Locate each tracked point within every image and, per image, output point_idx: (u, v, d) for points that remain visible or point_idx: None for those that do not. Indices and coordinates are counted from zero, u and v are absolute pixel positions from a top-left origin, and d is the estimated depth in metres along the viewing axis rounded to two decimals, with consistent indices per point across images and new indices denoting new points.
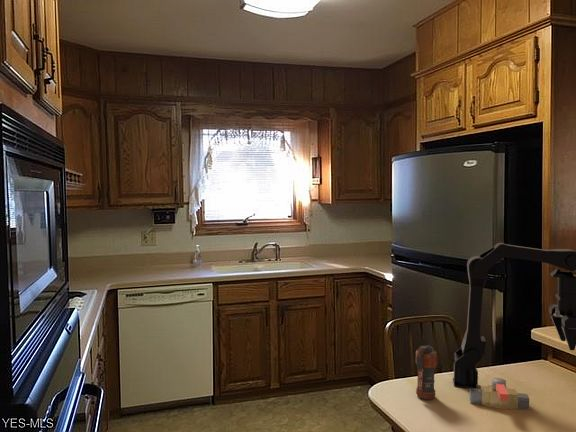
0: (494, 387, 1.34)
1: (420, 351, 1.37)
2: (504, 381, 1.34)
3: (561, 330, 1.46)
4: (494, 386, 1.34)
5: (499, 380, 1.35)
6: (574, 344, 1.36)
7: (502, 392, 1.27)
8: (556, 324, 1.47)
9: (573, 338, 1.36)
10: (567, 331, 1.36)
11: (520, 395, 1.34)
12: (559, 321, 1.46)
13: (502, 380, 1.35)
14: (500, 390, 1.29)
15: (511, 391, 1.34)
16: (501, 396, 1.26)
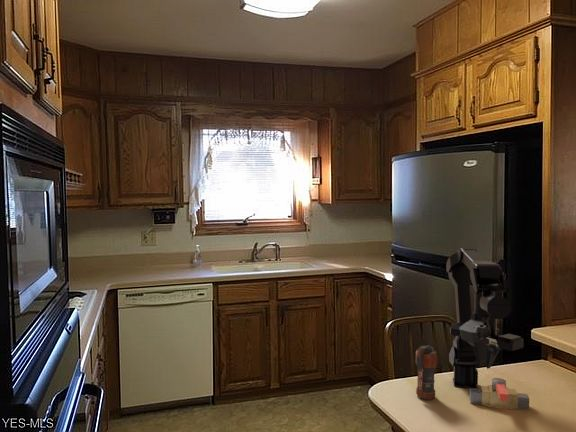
0: (494, 387, 1.34)
1: (420, 351, 1.37)
2: (504, 381, 1.34)
3: None
4: (494, 386, 1.34)
5: (499, 380, 1.35)
6: None
7: (502, 392, 1.27)
8: None
9: None
10: None
11: (520, 395, 1.34)
12: None
13: (502, 380, 1.35)
14: (500, 390, 1.29)
15: (511, 391, 1.34)
16: (501, 396, 1.26)
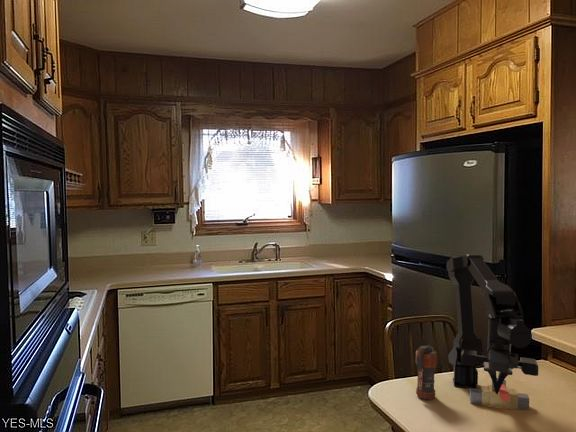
0: None
1: (420, 351, 1.37)
2: (504, 381, 1.34)
3: (497, 381, 1.29)
4: None
5: None
6: None
7: (503, 392, 1.27)
8: None
9: None
10: None
11: (520, 395, 1.34)
12: None
13: None
14: (501, 390, 1.28)
15: (511, 391, 1.34)
16: (503, 396, 1.26)
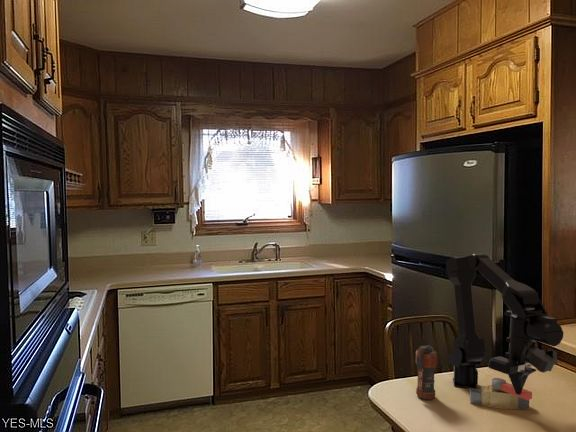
0: (499, 388, 1.33)
1: (420, 351, 1.37)
2: (503, 380, 1.35)
3: None
4: (499, 387, 1.33)
5: (499, 380, 1.35)
6: (518, 387, 1.28)
7: (525, 391, 1.28)
8: None
9: (516, 380, 1.28)
10: None
11: None
12: None
13: (500, 379, 1.35)
14: None
15: None
16: (528, 395, 1.27)
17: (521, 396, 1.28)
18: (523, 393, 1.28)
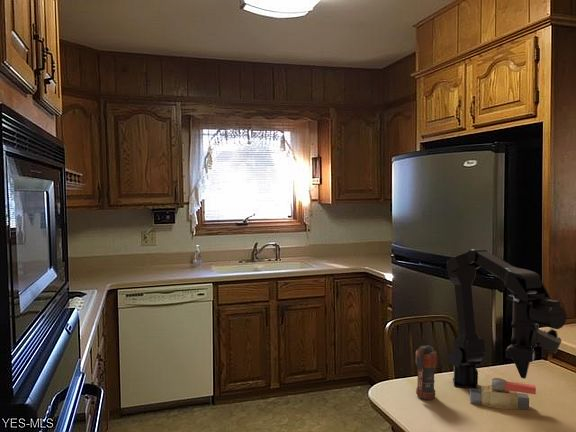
0: (503, 388, 1.33)
1: (420, 351, 1.37)
2: (500, 379, 1.36)
3: None
4: (503, 387, 1.33)
5: (498, 380, 1.35)
6: (524, 372, 1.27)
7: (531, 386, 1.31)
8: None
9: (522, 365, 1.27)
10: None
11: (520, 395, 1.34)
12: None
13: (498, 379, 1.36)
14: (526, 385, 1.32)
15: (511, 391, 1.34)
16: (535, 389, 1.31)
17: (528, 391, 1.31)
18: (531, 388, 1.31)
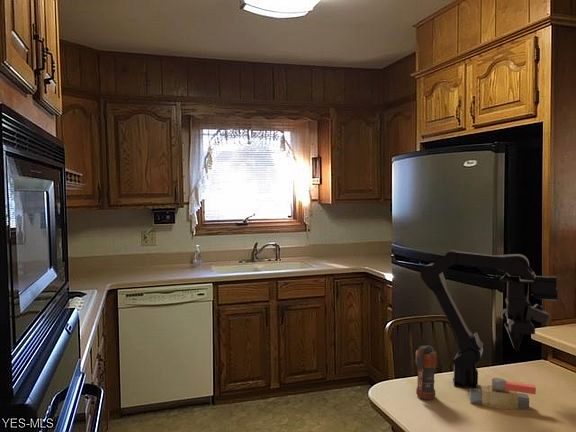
0: (503, 388, 1.33)
1: (420, 351, 1.37)
2: (500, 379, 1.36)
3: None
4: (503, 387, 1.33)
5: (498, 380, 1.35)
6: (518, 344, 1.42)
7: (531, 386, 1.31)
8: None
9: (517, 338, 1.41)
10: (511, 331, 1.41)
11: (520, 395, 1.34)
12: None
13: (498, 379, 1.36)
14: (526, 385, 1.32)
15: (511, 391, 1.34)
16: (535, 389, 1.31)
17: (528, 391, 1.31)
18: (531, 388, 1.31)
